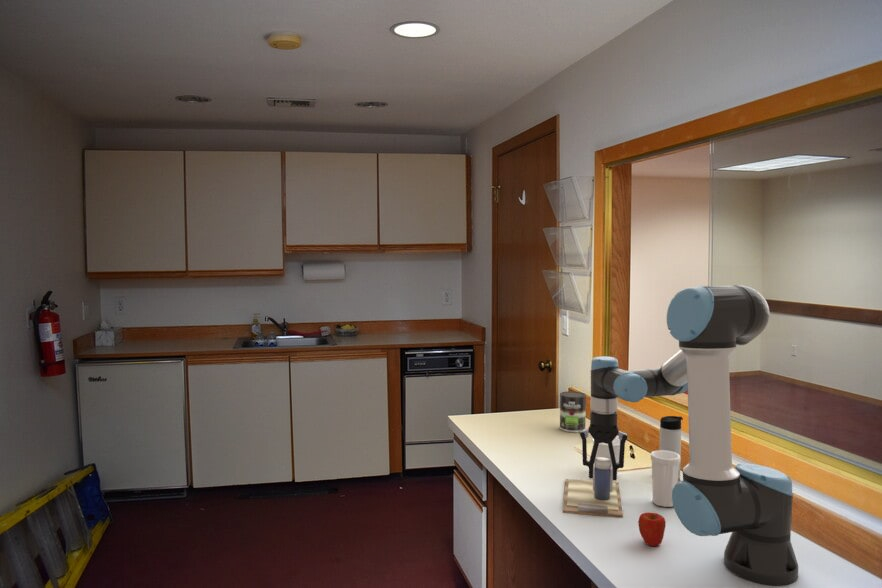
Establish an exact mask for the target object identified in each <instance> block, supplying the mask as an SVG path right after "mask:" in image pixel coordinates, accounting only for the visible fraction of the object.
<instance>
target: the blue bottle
mask: <svg viewBox="0 0 882 588" xmlns="http://www.w3.org/2000/svg"><path fill="white" fill-rule="evenodd" d="M594 467H595V487H594V497H595V498H596V499H598V500H609V499H610V468H611V460H610V459H608V458H603V457H599V458H596V457H595V462H594Z"/></svg>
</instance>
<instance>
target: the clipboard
mask: <svg viewBox="0 0 882 588" xmlns="http://www.w3.org/2000/svg"><path fill="white" fill-rule="evenodd" d="M564 481H565V482H564V492H563V503H562V504H563V505H562V513H567V514H578V515H579V514H580V515H588V516H589V515H591V516H601V517H602V516H603V517H612V518H621V519H622V518H624V512H623V507H622V506H623V505H622V504H623V503H622V497H621V491H620V483H619V482H616V481H615V482H614V481H613V491H612V492H610V499H609V500H598V499H596V498H595V497H594V491H593V480H588V479H577V478H576V479H574V478H565V480H564Z"/></svg>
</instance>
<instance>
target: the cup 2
mask: <svg viewBox="0 0 882 588" xmlns="http://www.w3.org/2000/svg"><path fill="white" fill-rule="evenodd" d="M650 460H651V479H652V481H651V483H652V485H651V486H652V502H653V503H654V504H655V505H656V506H660V507H667V508H670V507H673V502H672V490H673V488H674V487H675V485H676V484H677V483H678V482H679V481H678V471H679V462H680V455H679V454H677V453H675V452H671V451H665V450H660V449H658V450H653V451H651V452H650Z"/></svg>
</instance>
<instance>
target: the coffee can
mask: <svg viewBox="0 0 882 588" xmlns="http://www.w3.org/2000/svg"><path fill="white" fill-rule="evenodd" d="M559 397H560V399H559V429H560V430H561V431H563V432H566V433H567V432H568V433H580V431H581V430H583V431H584V430H586V412H587V411H586V409H587V405H586V404H587V394H586V393H583V392H580V391H573V390H572V391H569V390H567V391H561V392H560V393H559Z"/></svg>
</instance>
